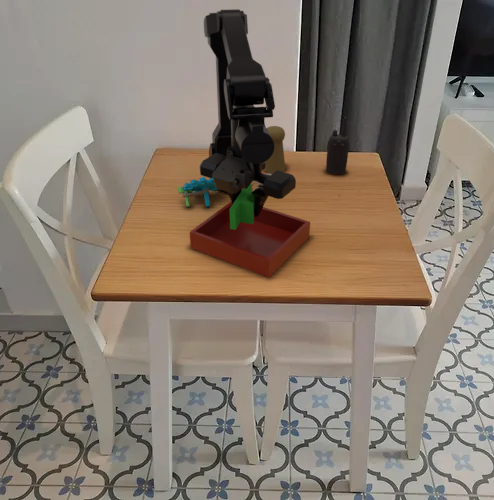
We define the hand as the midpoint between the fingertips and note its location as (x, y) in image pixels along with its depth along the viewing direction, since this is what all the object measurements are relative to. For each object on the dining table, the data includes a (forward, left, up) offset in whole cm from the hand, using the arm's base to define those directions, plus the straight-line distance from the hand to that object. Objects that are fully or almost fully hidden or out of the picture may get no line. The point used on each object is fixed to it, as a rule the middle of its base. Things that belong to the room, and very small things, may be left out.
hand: (246, 213), depth 110 cm
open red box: (+1, 0, -7) cm, 7 cm away
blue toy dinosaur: (-18, +9, -7) cm, 21 cm away
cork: (-13, +33, -7) cm, 36 cm away
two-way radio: (+2, +39, -7) cm, 40 cm away
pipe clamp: (0, 0, -1) cm, 1 cm away
